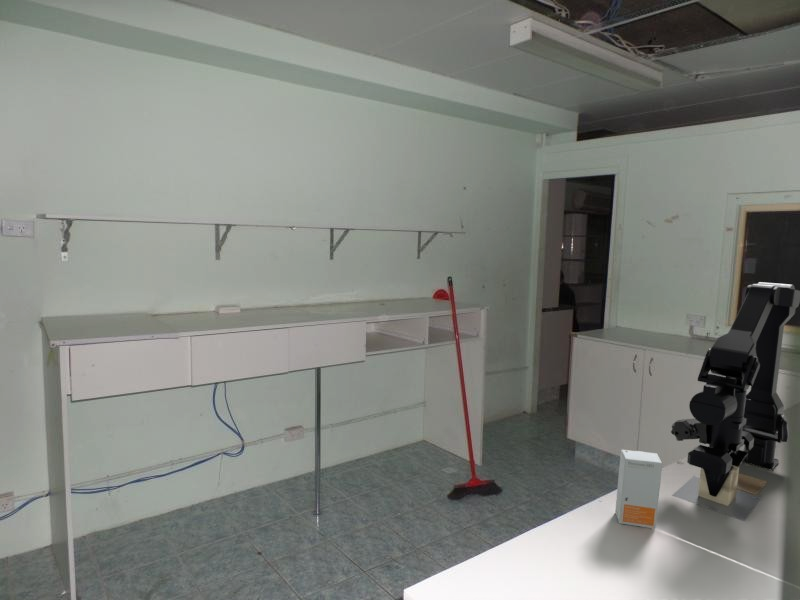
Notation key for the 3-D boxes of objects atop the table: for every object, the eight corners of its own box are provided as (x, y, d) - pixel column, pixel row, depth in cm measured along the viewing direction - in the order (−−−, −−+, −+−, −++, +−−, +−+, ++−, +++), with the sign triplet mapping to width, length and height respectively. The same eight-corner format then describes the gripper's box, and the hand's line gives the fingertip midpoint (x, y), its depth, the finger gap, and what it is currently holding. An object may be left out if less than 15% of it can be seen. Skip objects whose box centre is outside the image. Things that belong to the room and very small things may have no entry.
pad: (722, 469, 113) (722, 468, 113) (767, 483, 107) (767, 481, 107) (710, 481, 107) (710, 479, 107) (756, 496, 102) (756, 494, 102)
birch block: (706, 487, 104) (709, 458, 103) (735, 497, 101) (739, 467, 100) (698, 495, 101) (701, 466, 100) (727, 506, 97) (731, 475, 96)
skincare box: (618, 524, 91) (624, 458, 89) (615, 512, 95) (619, 448, 93) (657, 530, 89) (663, 462, 88) (651, 516, 94) (657, 452, 92)
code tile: (693, 476, 109) (693, 475, 109) (762, 499, 101) (762, 497, 101) (671, 496, 101) (671, 495, 101) (744, 522, 92) (744, 520, 92)
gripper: (696, 392, 111) (689, 462, 113) (661, 412, 98) (654, 491, 100) (758, 405, 103) (749, 481, 105) (729, 429, 90) (720, 515, 92)
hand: (717, 491), depth 101 cm, fingers closed on birch block, 5 cm apart
